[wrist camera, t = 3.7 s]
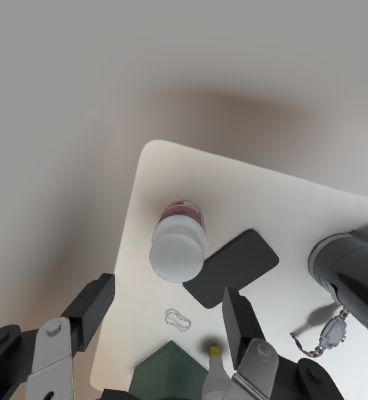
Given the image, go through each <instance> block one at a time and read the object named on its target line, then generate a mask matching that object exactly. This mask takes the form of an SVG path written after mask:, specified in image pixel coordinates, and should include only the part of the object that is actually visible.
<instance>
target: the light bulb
mask: <svg viewBox="0 0 368 400" xmlns="http://www.w3.org/2000/svg"><path fill="white" fill-rule="evenodd" d="M209 355H210V360H209V365H210V368H209V372H208V374H207V377H206V379H205V381H204V384H203V387H202V394H201V400H222V398H223V396H224V393H225V391H226V389H227V387H228V385H229V383H230V380H231V379H230V378H229V376H228V375H227V373H226V372H225V370H224V368H223V363H222V359H221V353H220V349H219V348H218V347H216V346H212V347H211V348H210V349H209Z"/></svg>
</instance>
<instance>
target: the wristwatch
mask: <svg viewBox="0 0 368 400" xmlns="http://www.w3.org/2000/svg"><path fill="white" fill-rule="evenodd" d="M345 310H346V311H347V312H346V311H345ZM345 312H346V313H345ZM349 313H350V312H349V311H348V310H347V309H346V308H345V307H343V310H341V311H340V314H339V315H338V316H335V317H334V318H332V319H331V320H330V321H329V322H328V323H327V324H326V325H325V327H324V329H323V330H322V332H321V335H320V336H321V337H320V339H319V341H320V344H319V346H318V347H316V348H315V351H310V352H309V353H308V352H306V351H303V350H302V346H301V344H300V343H299V341H298V340H297V339H296V338H295V337H294V336H292V335H291V334H290V335H291V336H292V338H293V339H295V342H296V345H297V346H298V348H300V350H301V351H302V352H303V353H304V354H306V355H307V356H309V357H313V358H316V357H319V356H321V355H322V353H323V352H324V350H325V349H326V348H327V349H331V348H332V347H336V346H337V345H338V344H339V342H340V340H341V341H342V342H344V340H343V339H342V338H344V339H345V338H346V336H344V335H345V334H346V329H345V328H346V327H347V325H346V323H345V322H344V321H345V319H346V317H347V316H348V314H349ZM342 316H343V317H342ZM320 347H322V349H320ZM317 352H318V353H319V354H318V353H317ZM316 353H317V354H316ZM312 355H313V356H312Z"/></svg>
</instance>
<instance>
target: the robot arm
mask: <svg viewBox="0 0 368 400" xmlns="http://www.w3.org/2000/svg"><path fill="white" fill-rule="evenodd" d="M309 270H310V273H311V275H312V277H313V278H314V279H315V280H316V281H317V282H318V283H319V284H320V285H322V286H323V287H324V288H325V289H326V290H327V291H328V292H329V293H330V294H331V296H332V299H333V300H334V301H335V302H336V303H337V304H338V305H339V303H338V301H339V302H340V303H341V304H342V305H343V306H344V307H345V308H346V309H347V310H348V311H349V312H350V313H351V314H352V315H353V316H354V317H355V318H356V319H357V320H358V321H359V322H360V323H361V324H363V325H364V326H365V327H366V328H367V329H368V235H366V234H364V233H362V232H359V231H357V230H353V231H352V232H350V233H348V234H338V235H334V236H331V237H329V238H327V239H325V240H324V241H322V242H321V243H320V244H318V245H317V247H316V248H315V249H314V250H313V252H312V254H311V256H310V259H309ZM114 296H115V275H114V274H108V273H103V274H102V275H101V276H100V278H99V279H98V280H93V281H92V282H90V283H89V284H87V285H86V286H85V288H84V289H83V290H82V291H81V293H79V295H78V296H77V297H76V298H75V299H74V300H73V302H72V303H71V304H70V305H69V306H68V308H67V309H66V310H65V311H64V312H63V313H62V315H61V316H60V317H57V318H54V319H52V320H50V321H48V322H46V323H45V324H44V325H43V326H42V327H41V328H40V329H36V330H30V331H25V332H21V330H20V327H19V326H18V325H8V326H4V327H2V328H0V400H9V399H10V397H11V396H12V395H13V393H14V392H15V390H16V389H17V387H18V386H19V385H20V383H23V382H27V385H26V391H25V398H24V400H75V391H74V372H73V357H74V356H75V354H76V352H77V351H80V352H85V350H86V348H87V346H88V344H89V343H90V340H91V339H92V337H93V335H94V334H95V332H96V330H97V328H98V327H99V325H100V323H101V321H102V320H103V318H104V316H105V314H106V313H107V311H108V309H109V307H110V305H111V304H112V302H113V299H114ZM222 312H223V318H224V323H225V328H226V333H227V338H228V342H229V347H230V352H231V357H232V362H233V367H234V370H237V373H236V374H235V373H234V374H233V376H232V378H231V380H230V383H229V385H228V387H227V389H226V391H225V393H224V396H223V398H222V400H344V398H343V397H342V395H341V393H340V392H339V390H338V388H337V387H336V385H335V383H334V382H333V380H332V378H331V377H330V375H329V374H328V373H327V371H326V370H325V369H324V368H323V367H322V366H320V365H319V364H318V363H316V362H315V361H313V360H311V359H308V358H301V359H300V360H299V361H298V364H297V363H295V362H293V361H290V360H288V359H286V358H283V357H281V356H280V355H278V354H277V352H276V350H275V349H274V348H273V346H272V345H271V344H269V343H268V342H267V341H266V339H265V337H264V335H263V332H262V330H261V327H260V325H259V323H258V320H257V318H256V315H255V313H254V311H253V308H252V306H251V303H250V302H249V301H248V300H247V298H246V297H245V296H240V294H239V292H238V289H237V287H229V286H226V287H225V292H224V298H223V304H222ZM96 400H141V399H139V398H137V397H136V396H134V395H132V394H130V393H128V392H126V391H120V390H111V389H104V391H103V394H102V396H101V398H99V399H96ZM157 400H191V399H187V398H178V397H166V398H161V399H157Z"/></svg>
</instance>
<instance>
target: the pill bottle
mask: <svg viewBox="0 0 368 400" xmlns="http://www.w3.org/2000/svg"><path fill="white" fill-rule="evenodd" d="M205 248H206V235H205V230H204V224H203V218H202V214H201V212H200V210H199V209H198V207H197V206H196V205H194V204H193V203H191V202H188V201H177V202H174V203H172V204H171V205H169V206H168V207H167V209H166V210H165V212H164V214H163V215H162V217H161V219H160V221H159V223H158V224H157V226H156V228H155V230H154V232H153V235H152V247H151V250H150V256H149V258H150V264H151V266H152V268H153V270H154V272H155V273H156V274H157V275H158V276H159V277H161V278H163V279H164V280H167V281H169V282H174V283H181V282H186V281H189V280H191V279H193V278H194V277H195V276H196V275H197V274H198V273H199V272H200V271H201V269H202V266H203V262H204V254H203V253H204V251H205Z"/></svg>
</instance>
